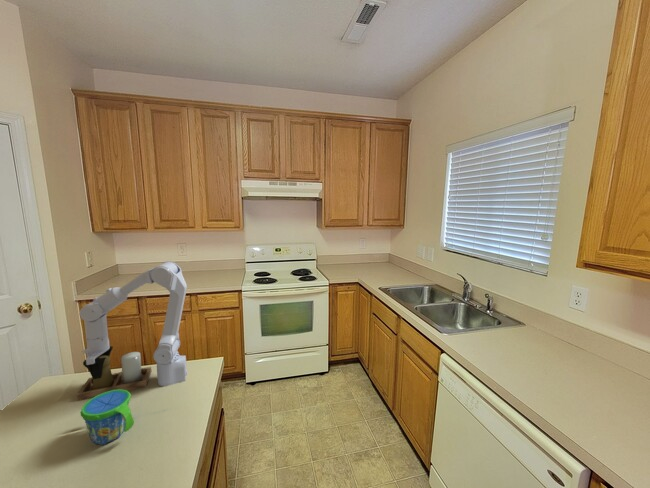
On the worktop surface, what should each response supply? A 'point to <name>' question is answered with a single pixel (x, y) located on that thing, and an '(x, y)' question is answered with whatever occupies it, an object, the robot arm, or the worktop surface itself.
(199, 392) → the worktop surface
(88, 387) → the caddy
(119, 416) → the snack cup
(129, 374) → the salt shaker
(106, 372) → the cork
